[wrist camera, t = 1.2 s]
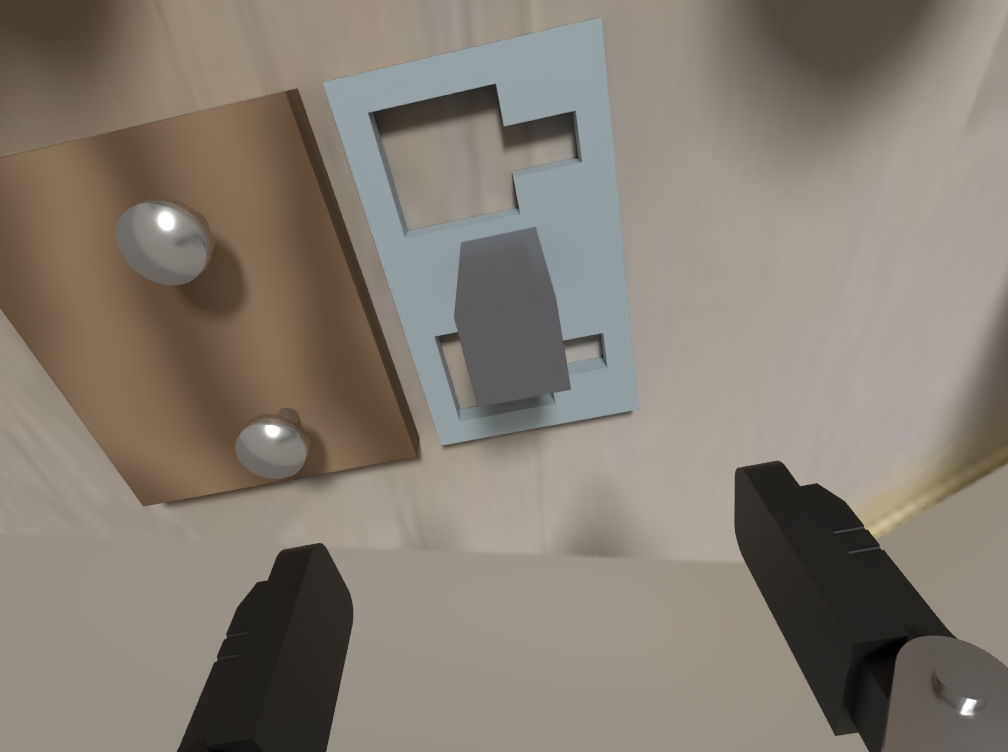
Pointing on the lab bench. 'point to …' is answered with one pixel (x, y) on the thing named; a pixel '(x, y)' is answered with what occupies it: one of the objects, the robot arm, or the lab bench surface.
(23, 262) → the walnut board
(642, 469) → the lab bench surface
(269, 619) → the robot arm
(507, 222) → the keyhole panel
